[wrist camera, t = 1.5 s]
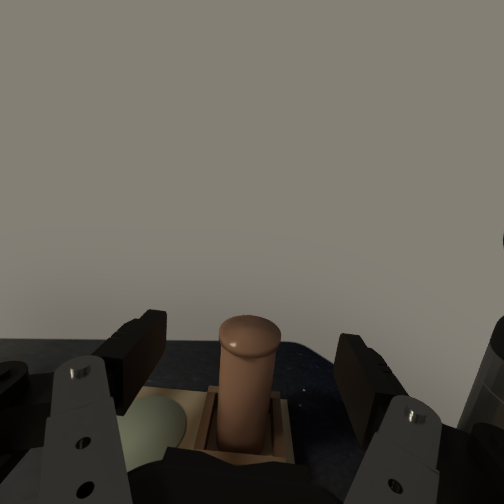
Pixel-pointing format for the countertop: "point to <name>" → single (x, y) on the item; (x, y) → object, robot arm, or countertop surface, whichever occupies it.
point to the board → (194, 427)
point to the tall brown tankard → (245, 382)
